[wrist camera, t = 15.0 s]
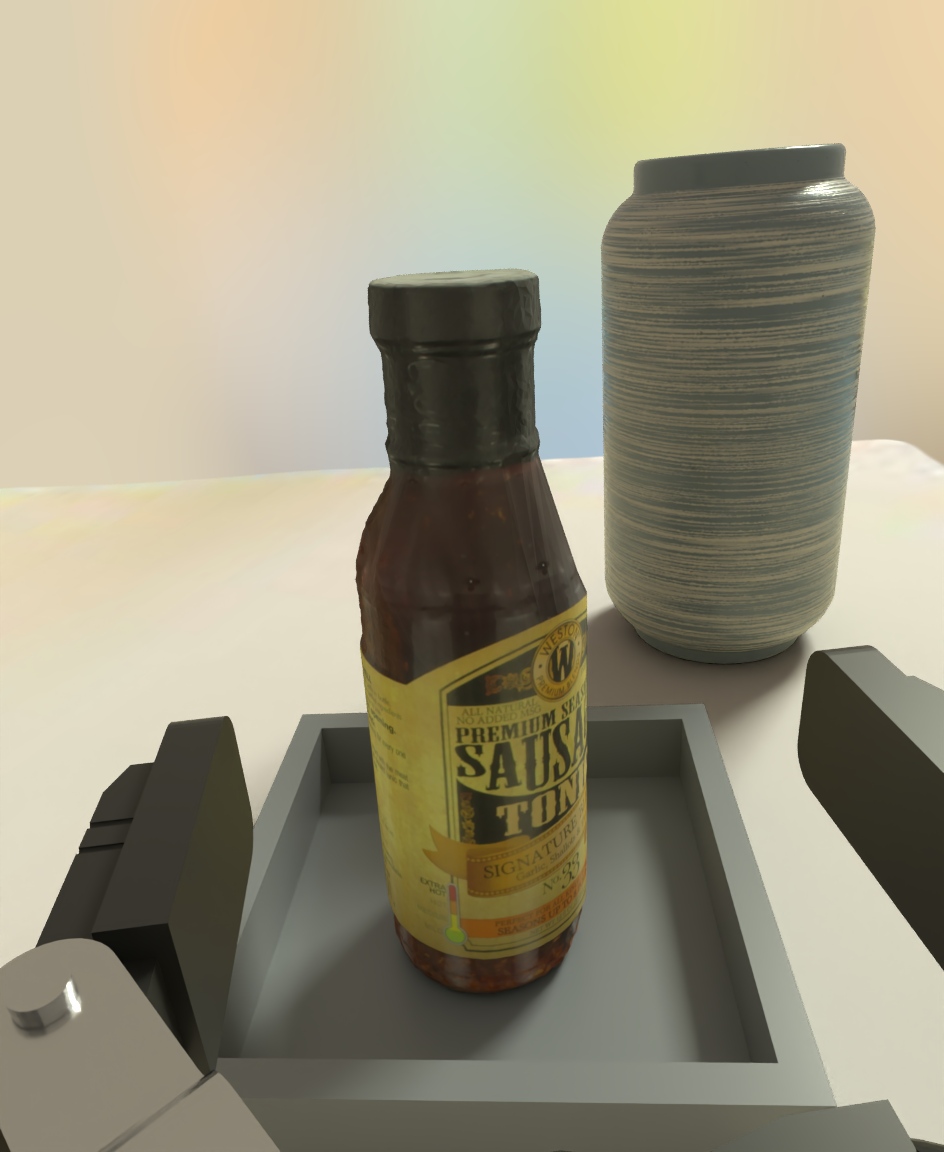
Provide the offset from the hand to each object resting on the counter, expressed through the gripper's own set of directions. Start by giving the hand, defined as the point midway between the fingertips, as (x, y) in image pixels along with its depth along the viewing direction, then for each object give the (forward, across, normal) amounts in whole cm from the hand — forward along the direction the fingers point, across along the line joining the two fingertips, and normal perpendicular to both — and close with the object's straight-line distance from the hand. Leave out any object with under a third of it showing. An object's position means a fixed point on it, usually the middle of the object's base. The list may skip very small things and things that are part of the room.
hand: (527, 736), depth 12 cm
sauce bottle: (+11, 0, +15) cm, 18 cm away
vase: (+30, -15, +16) cm, 37 cm away
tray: (+11, 0, +16) cm, 19 cm away
